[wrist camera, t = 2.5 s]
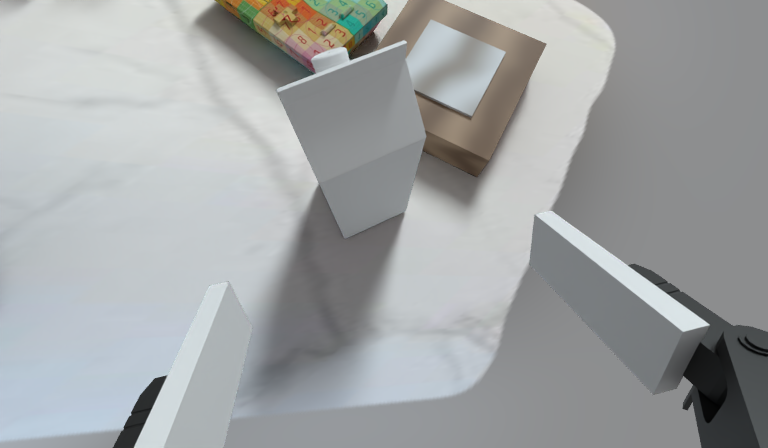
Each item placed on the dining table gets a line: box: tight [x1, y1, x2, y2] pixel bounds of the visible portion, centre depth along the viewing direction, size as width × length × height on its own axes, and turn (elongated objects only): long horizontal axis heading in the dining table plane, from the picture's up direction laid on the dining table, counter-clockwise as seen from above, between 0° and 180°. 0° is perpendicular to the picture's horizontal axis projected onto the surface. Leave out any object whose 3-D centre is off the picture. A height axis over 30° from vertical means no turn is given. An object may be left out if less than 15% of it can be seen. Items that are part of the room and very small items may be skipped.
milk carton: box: [276, 40, 426, 238], centre depth 25 cm, size 7×7×19 cm
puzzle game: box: [215, 0, 387, 74], centre depth 39 cm, size 12×5×20 cm
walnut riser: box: [375, 0, 546, 177], centre depth 36 cm, size 16×16×4 cm
